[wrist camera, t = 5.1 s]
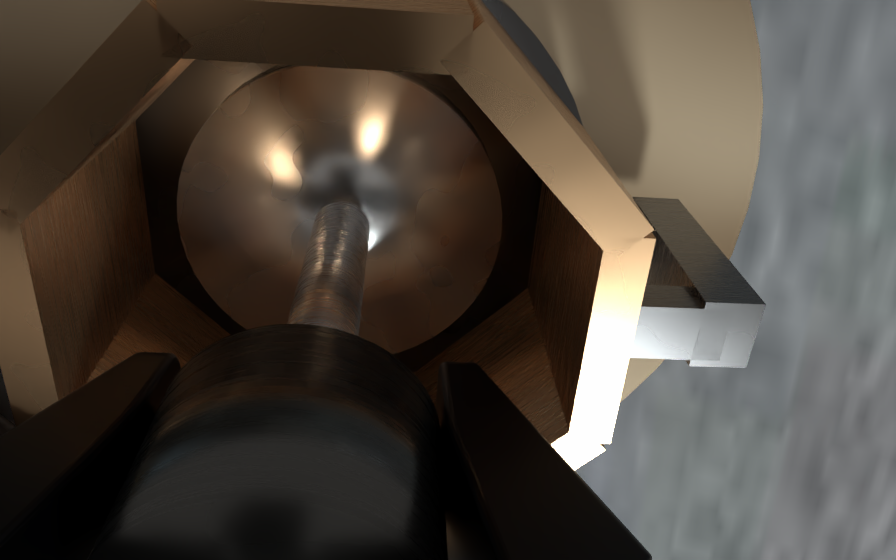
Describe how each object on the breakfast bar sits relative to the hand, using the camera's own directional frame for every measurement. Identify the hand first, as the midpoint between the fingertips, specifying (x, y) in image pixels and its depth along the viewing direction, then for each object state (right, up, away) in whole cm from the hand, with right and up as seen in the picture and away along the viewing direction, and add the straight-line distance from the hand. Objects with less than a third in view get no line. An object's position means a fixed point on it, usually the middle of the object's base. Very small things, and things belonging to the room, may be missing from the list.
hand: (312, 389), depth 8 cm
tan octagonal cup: (0, +3, +5) cm, 6 cm away
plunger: (0, +2, +4) cm, 5 cm away
